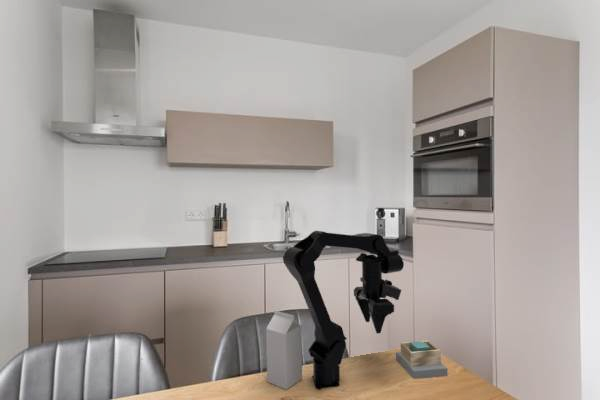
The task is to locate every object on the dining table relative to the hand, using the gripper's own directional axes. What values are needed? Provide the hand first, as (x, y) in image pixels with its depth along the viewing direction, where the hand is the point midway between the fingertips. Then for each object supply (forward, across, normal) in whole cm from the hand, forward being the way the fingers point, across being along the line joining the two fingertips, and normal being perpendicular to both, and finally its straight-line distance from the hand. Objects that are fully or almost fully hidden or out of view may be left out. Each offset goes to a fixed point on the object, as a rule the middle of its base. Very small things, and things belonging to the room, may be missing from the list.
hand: (372, 327), depth 103 cm
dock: (+12, -3, -14) cm, 18 cm away
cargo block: (+8, -3, -13) cm, 16 cm away
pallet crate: (+10, -3, -13) cm, 17 cm away
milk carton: (+12, -3, +27) cm, 30 cm away
